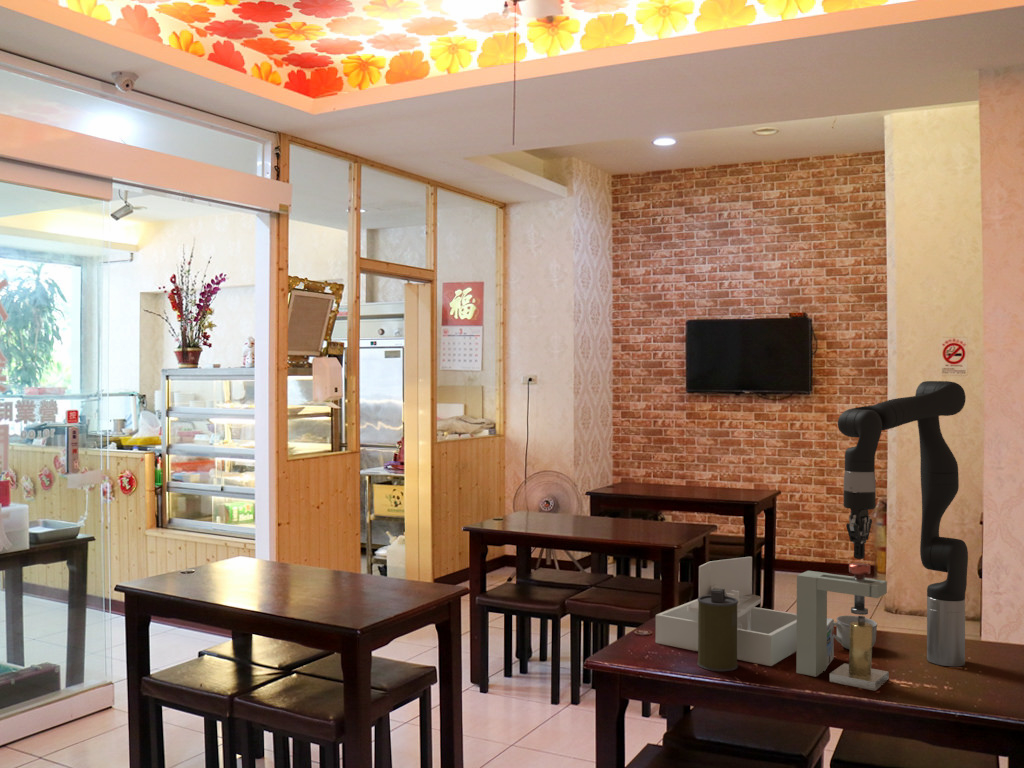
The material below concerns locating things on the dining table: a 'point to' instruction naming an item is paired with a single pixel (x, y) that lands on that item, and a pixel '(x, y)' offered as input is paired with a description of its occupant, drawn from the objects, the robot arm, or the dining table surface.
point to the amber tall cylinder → (860, 647)
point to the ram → (859, 575)
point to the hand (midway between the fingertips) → (859, 558)
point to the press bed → (859, 678)
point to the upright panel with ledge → (730, 586)
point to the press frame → (822, 614)
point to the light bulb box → (830, 640)
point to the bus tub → (760, 645)
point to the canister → (717, 631)
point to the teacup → (844, 629)
